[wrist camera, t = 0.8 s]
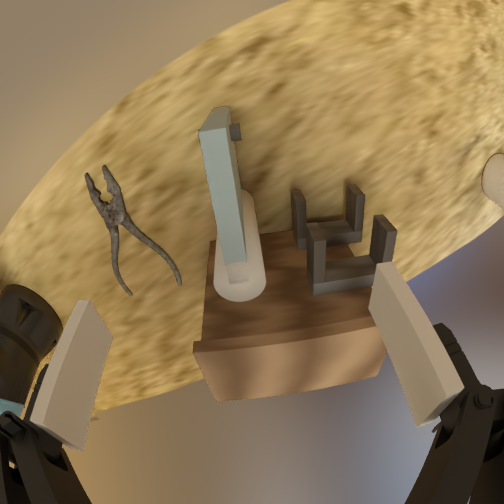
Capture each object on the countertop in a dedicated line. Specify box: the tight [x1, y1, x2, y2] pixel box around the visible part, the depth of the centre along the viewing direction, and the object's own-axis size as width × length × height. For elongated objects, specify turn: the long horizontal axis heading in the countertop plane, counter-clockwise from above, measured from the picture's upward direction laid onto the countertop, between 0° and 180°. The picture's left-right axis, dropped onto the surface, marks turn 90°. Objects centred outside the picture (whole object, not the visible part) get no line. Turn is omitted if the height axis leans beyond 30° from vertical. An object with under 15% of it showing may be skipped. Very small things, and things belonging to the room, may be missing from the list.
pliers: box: [85, 165, 182, 296], centre depth 35 cm, size 10×1×20 cm
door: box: [198, 106, 266, 302], centre depth 25 cm, size 4×14×14 cm, turn 7°
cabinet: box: [193, 184, 397, 401], centre depth 30 cm, size 18×14×17 cm
